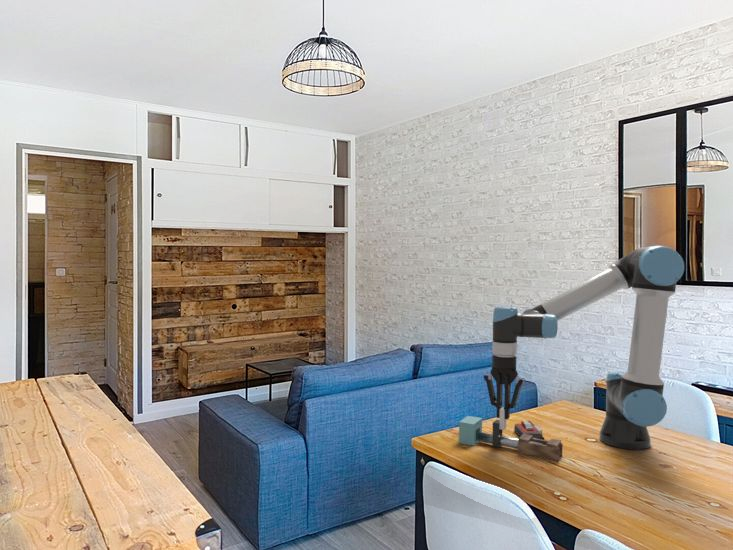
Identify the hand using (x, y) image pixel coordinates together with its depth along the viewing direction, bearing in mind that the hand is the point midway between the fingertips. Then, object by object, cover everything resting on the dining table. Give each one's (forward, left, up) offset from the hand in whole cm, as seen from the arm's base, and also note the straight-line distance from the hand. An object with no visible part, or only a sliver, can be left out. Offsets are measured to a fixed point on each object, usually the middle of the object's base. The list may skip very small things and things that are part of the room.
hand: (502, 428), depth 170 cm
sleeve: (-12, 0, -6) cm, 13 cm away
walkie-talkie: (-3, -19, -7) cm, 20 cm away
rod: (-2, 0, -6) cm, 6 cm away
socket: (+11, 0, -6) cm, 12 cm away
